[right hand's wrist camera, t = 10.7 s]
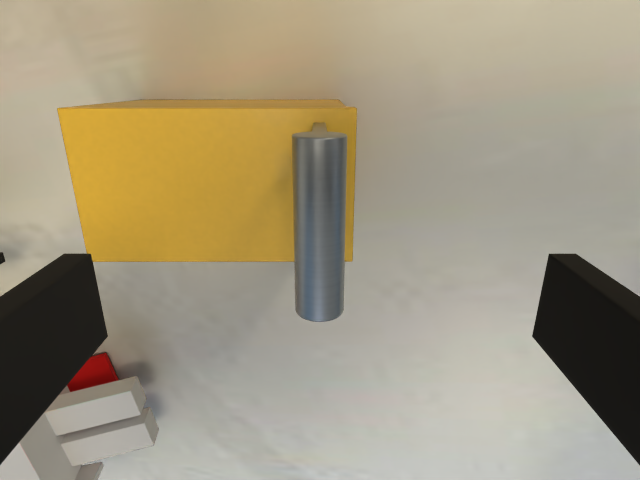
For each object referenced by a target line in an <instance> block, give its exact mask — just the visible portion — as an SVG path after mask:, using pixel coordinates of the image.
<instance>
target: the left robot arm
mask: <svg viewBox="0 0 640 480" xmlns="http://www.w3.org/2000/svg"><path fill="white" fill-rule="evenodd" d="M3 262H5V258H4V255H3V252H0V264H2V263H3Z"/></svg>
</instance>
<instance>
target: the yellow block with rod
mask: <svg viewBox="0 0 640 480" xmlns="http://www.w3.org/2000/svg"><path fill="white" fill-rule="evenodd" d="M57 110H58V115H59V120H60V125H61V130H62V135H63V140H64V144H65V149H66V154H67V159H68V164H69V169H70V174H71V178H72V183H73V188H74V193H75V198H76V203H77V208H78V212H79V217H80V222H81V227H82V232H83V237H84V242H85V246H86V251H87V254H91V256H92V261H93V262H295V305H296V312H297V314H298V315H299V316H300V317H302V318H303V319H306V320H309V321H315V322H324V321H330V320H333V319H336V318H338V317H339V316H340V315H341V314H342V312H343V310H344V265H345V262H352V260H353V225H354V191H355V156H356V122H357V108H355V107H64V108H57Z"/></svg>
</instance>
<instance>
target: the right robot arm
mask: <svg viewBox="0 0 640 480" xmlns="http://www.w3.org/2000/svg"><path fill="white" fill-rule="evenodd" d="M107 337H108V335H107V330H106V326H105V321H104V316H103V311H102V306H101V301H100V296H99V291H98V286H97V281H96V276H95V271H94V266H93V261H92V256H91V254H63V255H62V256H60V257H59V258H57V259H56V260H54V261H53V262H51V263H50V264H48V265H47V266H45V267H44V268H42V269H41V270H39V271H38V272H36V273H35V274H33V275H32V276H30V277H29V278H27V279H26V280H24V281H23V282H22V283H20V284H19V285H17V286H16V287H14V288H13V289H11V290H10V291H8V292H7V293H5V294H4V295H2V296H1V297H0V465H1V464H2V462H3V461H4V460H5V459H6V458H7V456H8V455H9V454H10V453H11V452H12V450H13V449H14V448H15V447H16V446H17V444H18V443H19V442H20V441H21V440H22V438H23V437H24V436H25V435H26V434H27V432H28V431H29V430H30V429H31V428H32V427H33V425H34V424H35V423H36V422H37V421H38V419H39V418H40V417H41V416H42V415H43V413H44V412H45V411H46V410H47V409H48V407H49V406H50V405H51V404H52V403H53V401H54V400H55V399H56V398H57V397H58V395H59V394H60V393H61V392H62V391H63V389H64V388H65V387H66V386H67V385H68V383H69V382H70V381H71V380H72V379H73V377H74V376H75V375H76V374H77V373H78V371H79V370H80V369H81V368H82V367H83V365H84V364H85V363H86V362H87V361H88V359H89V358H90V357H91V356H92V355H93V353H94V352H95V351H96V350H97V349H98V347H99V346H100V345H101V344H102V343H103V341H104V340H105V339H106V338H107ZM532 337H533V338H534V339H535V340H536V341H537V343H538V344H539V345H540V346H541V347H542V349H543V350H544V351H545V352H546V353H547V355H548V356H549V357H550V358H551V359H552V361H553V362H554V363H555V364H556V365H557V367H558V368H559V369H560V370H561V371H562V373H563V374H564V375H565V376H566V377H567V379H568V380H569V381H570V382H571V383H572V385H573V386H574V387H575V388H576V389H577V391H578V392H579V393H580V394H581V395H582V397H583V398H584V399H585V400H586V401H587V403H588V404H589V405H590V406H591V407H592V409H593V410H594V411H595V412H596V413H597V415H598V416H599V417H600V418H601V419H602V421H603V422H604V423H605V424H606V425H607V427H608V428H609V429H610V430H611V431H612V432H613V434H614V435H615V436H616V437H617V438H618V440H619V441H620V442H621V443H622V444H623V446H624V447H625V448H626V449H627V450H628V452H629V453H630V454H631V455H632V456H633V458H634V459H635V460H636V461H637V462H638V464H639V465H640V297H639V296H638V295H636V294H635V293H633V292H632V291H630V290H629V289H627V288H626V287H624V286H623V285H621V284H620V283H618V282H617V281H616V280H614V279H613V278H611V277H610V276H608V275H607V274H605V273H604V272H602V271H601V270H599V269H598V268H596V267H595V266H593V265H592V264H590V263H589V262H587V261H586V260H584V259H583V258H581V257H580V256H578V255H577V254H549V256H548V261H547V266H546V271H545V276H544V281H543V286H542V291H541V296H540V301H539V306H538V311H537V316H536V321H535V325H534V330H533V335H532Z"/></svg>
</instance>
